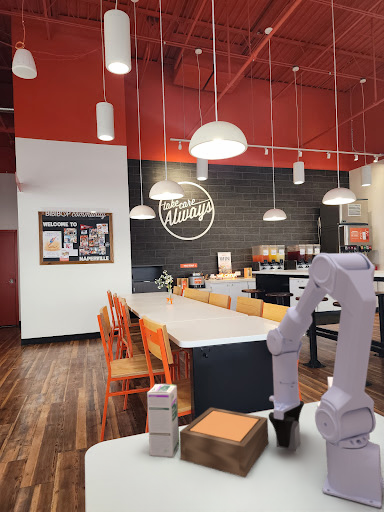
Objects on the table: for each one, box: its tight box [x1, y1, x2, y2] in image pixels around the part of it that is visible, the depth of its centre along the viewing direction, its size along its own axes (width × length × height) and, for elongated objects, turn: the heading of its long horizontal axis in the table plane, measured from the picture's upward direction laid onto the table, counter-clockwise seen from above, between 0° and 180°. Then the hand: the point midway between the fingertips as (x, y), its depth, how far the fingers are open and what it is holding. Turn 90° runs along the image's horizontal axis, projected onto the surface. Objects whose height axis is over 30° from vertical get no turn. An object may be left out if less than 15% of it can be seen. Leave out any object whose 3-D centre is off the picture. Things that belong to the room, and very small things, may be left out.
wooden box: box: [179, 407, 270, 478], centre depth 80 cm, size 15×15×6 cm
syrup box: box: [146, 383, 180, 458], centre depth 82 cm, size 6×6×14 cm
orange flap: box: [190, 411, 259, 443], centre depth 80 cm, size 12×12×1 cm
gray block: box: [275, 421, 301, 452], centre depth 82 cm, size 4×4×5 cm
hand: (288, 438), depth 82 cm, fingers open, 7 cm apart
